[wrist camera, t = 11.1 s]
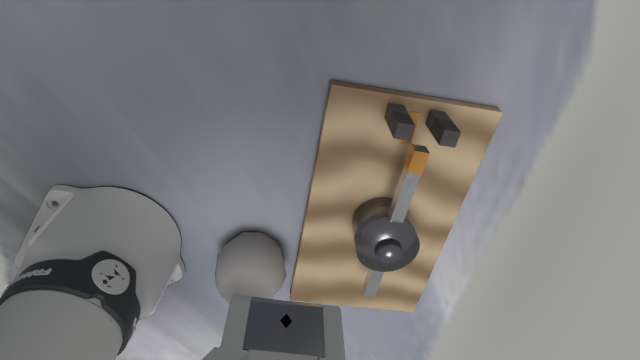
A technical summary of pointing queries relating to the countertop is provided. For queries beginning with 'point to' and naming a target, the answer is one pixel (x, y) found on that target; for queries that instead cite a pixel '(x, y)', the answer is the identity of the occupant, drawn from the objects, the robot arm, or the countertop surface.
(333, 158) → the stand
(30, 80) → the countertop surface
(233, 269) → the potion bottle
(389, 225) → the capstan
